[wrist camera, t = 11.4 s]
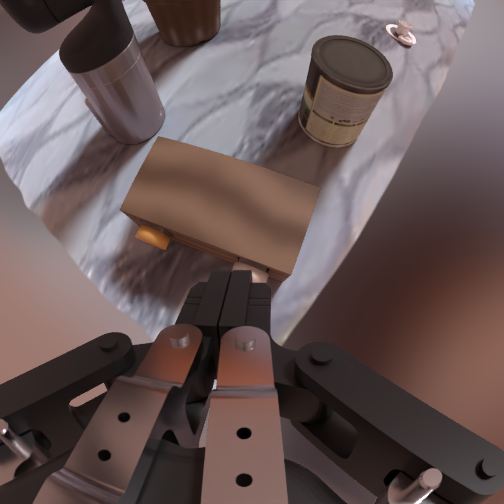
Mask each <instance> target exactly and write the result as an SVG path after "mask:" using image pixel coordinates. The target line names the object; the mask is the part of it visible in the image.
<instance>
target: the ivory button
mask: <svg viewBox="0 0 504 504" xmlns="http://www.w3.org/2000/svg"><path fill="white" fill-rule="evenodd" d="M266 269H267V267H264V266H261V265H259V264H256V263H253V262H251V261H248V260H245V259H243V258H240V259H239V262H235V263H234V265H233V268H232V271H233V270H252V282H253V283H266V282H267V280H268V277H269V274H267V273H266Z"/></svg>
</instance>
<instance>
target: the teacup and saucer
mask: <svg viewBox="0 0 504 504" xmlns="http://www.w3.org/2000/svg"><path fill="white" fill-rule="evenodd" d="M391 27H397V30H396V32H397V34H398V35H399V36H398V38H397V37H395V36H394V35H393V34H392V33H391V32H390V28H391ZM411 28H412V26H411V25H410V24H409V23H408V22H406V21H403V20H400V21H399V23H398V26H397V25H393V24H389V25H387V26H386V30H387V32H388V33H389V34H390V35H391V36H392V37H393V38H395V39H397V40H398V41H400V42H402V43H404V44H406V45H413V44H415V43H416V39H415V37H414V36H413V35H412V34H411V33H410V32H409V31H410V29H411ZM407 34H409V35H410V36H411V37H412V40H411V39H410V38H408V37H406V35H407Z"/></svg>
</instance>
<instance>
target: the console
mask: <svg viewBox="0 0 504 504" xmlns="http://www.w3.org/2000/svg"><path fill="white" fill-rule="evenodd" d="M320 189H321V188H319V187H317V186H314V185H311V184H309V183H306V182H303V181H301V180H298V179H295V178H292V177H290V176H287V175H284V174H281V173H278V172H275V171H273V170H270V169H267V168H264V167H261V166H258V165H255V164H252V163H249V162H246V161H243V160H240V159H236V158H233V157H230V156H227V155H224V154H220V153H217V152H214V151H210V150H207V149H203V148H200V147H196V146H193V145H189V144H186V143H182V142H178V141H175V140H171V139H167V138H163V137H159V136H158V137H157V139H156V141H155V143H154V144H153V146H152V148H151V150H150V152H149V153H148V155H147V157H146V159H145V161H144V162H143V164H142V166H141V168H140V170H139V172H138V174H137V176H136V178H135V180H134V182H133V184H132V186H131V188H130V190H129V192H128V194H127V196H126V198H125V200H124V202H123V204H122V206H121V208H120V210H121V211H122V212H123V213H124V214H126V215H127V216H128V217H129V218H131V219H132V220H133V221H134V222H136V223H137V224H138V225H139V226H140V225H141V222H142V220H143V221H146V222H148V223H151V224H153V225H156V226H158V227H161V228H164V229H166V230H167V231H168V232H169V233H170V234H171V237H170V238H171V240H174V241H176V242H179V243H182V244H184V245H187V246H189V247H192V248H194V249H197V250H200V251H202V252H205V253H207V254H210V255H213V256H215V257H218V258H220V259H223V260H226V261H228V262H231V263H235V262H239V259H240V258H243V259H245V260H248V261H251V262H253V263H256V264H259V265H261V266H264V267H267V269H266V273H267V274H269V277H271V278H273V279H276V280H279V281H282V282H283V281H285V280H286V279H287V278H288V277H289V276H290V275H291V274H292V271H293V268H294V266H295V263H296V260H297V257H298V254H299V251H300V249H301V246H302V243H303V240H304V237H305V234H306V231H307V228H308V225H309V222H310V219H311V216H312V213H313V210H314V207H315V204H316V201H317V198H318V195H319V192H320Z"/></svg>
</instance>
